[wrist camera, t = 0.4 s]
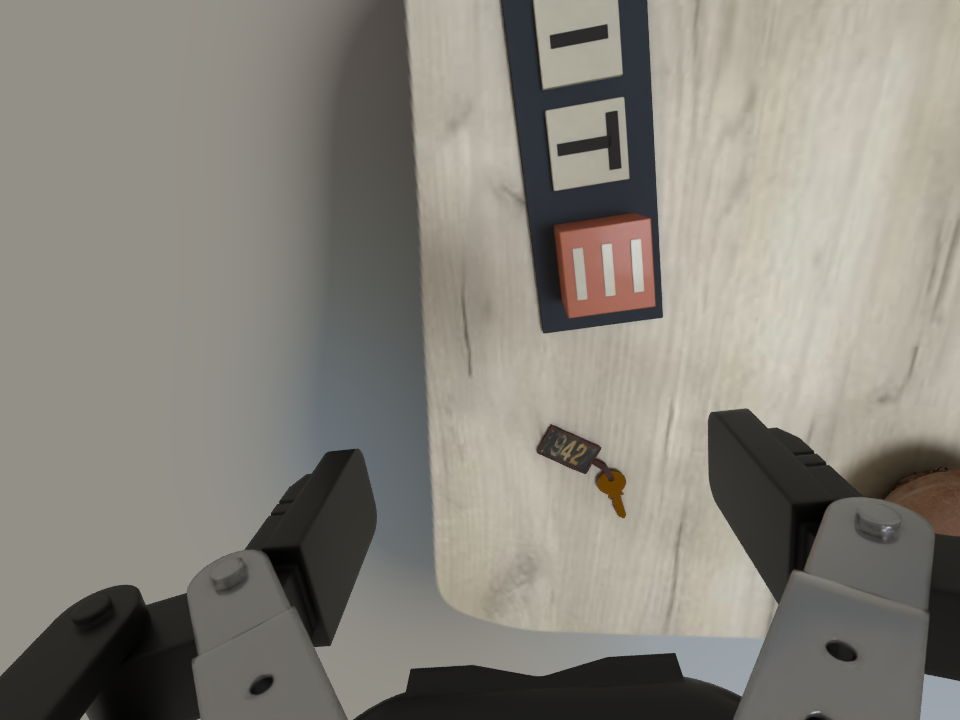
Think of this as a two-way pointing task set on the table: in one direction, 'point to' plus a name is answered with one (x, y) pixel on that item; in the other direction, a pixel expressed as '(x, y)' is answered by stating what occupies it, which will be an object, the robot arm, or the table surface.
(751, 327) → the table surface
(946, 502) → the onion
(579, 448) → the key tag
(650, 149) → the word mat
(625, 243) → the red striped block
